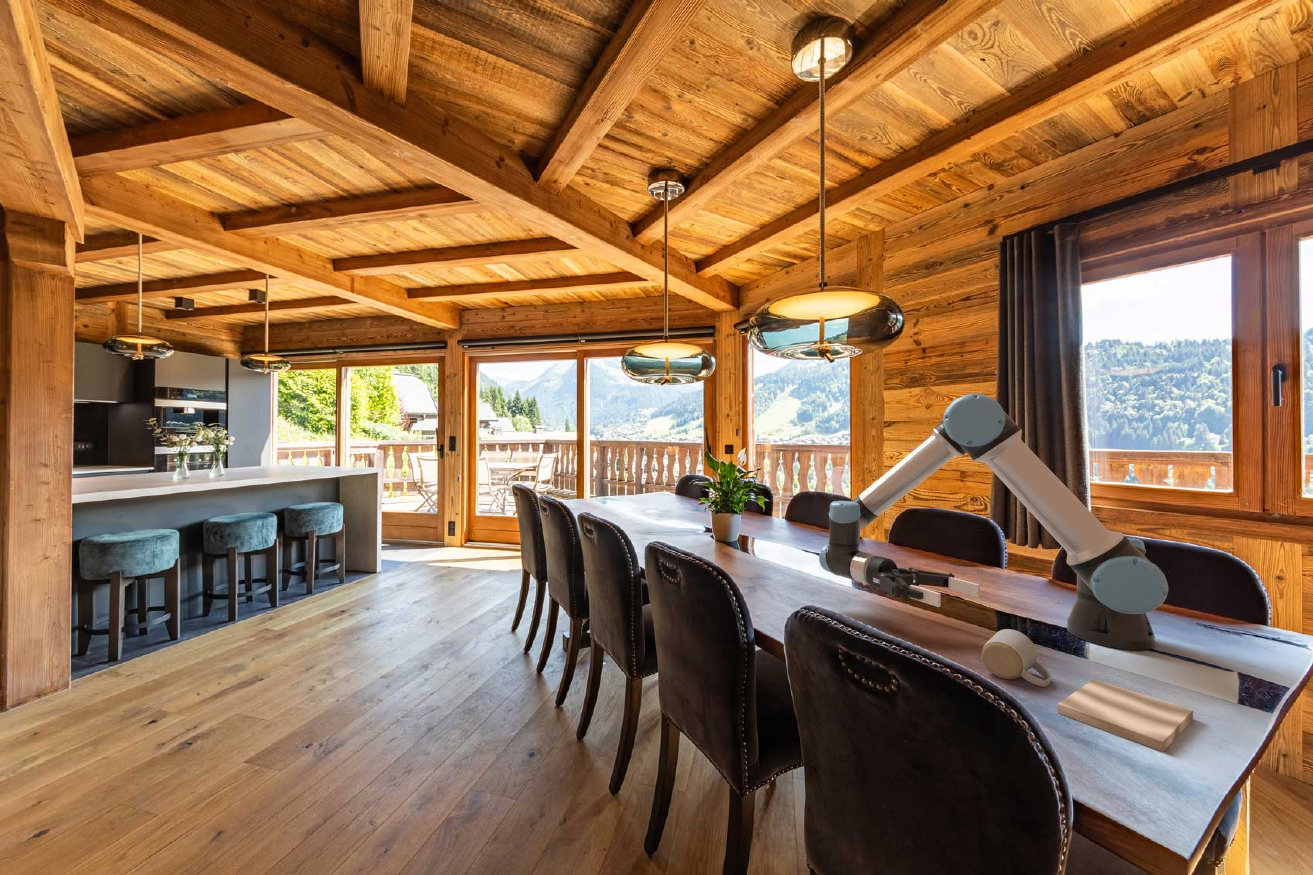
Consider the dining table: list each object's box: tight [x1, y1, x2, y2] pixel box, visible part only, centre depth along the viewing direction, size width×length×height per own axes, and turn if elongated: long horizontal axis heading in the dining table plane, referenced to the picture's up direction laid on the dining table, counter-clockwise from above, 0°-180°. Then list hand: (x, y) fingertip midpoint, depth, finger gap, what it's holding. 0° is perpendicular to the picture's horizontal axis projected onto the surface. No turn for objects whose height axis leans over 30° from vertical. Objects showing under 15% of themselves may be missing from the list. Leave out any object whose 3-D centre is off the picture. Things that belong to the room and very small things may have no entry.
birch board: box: [1057, 678, 1194, 753], centre depth 87 cm, size 16×13×2 cm
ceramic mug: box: [981, 628, 1053, 688], centre depth 101 cm, size 11×8×8 cm
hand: (959, 595), depth 111 cm, fingers open, 13 cm apart
